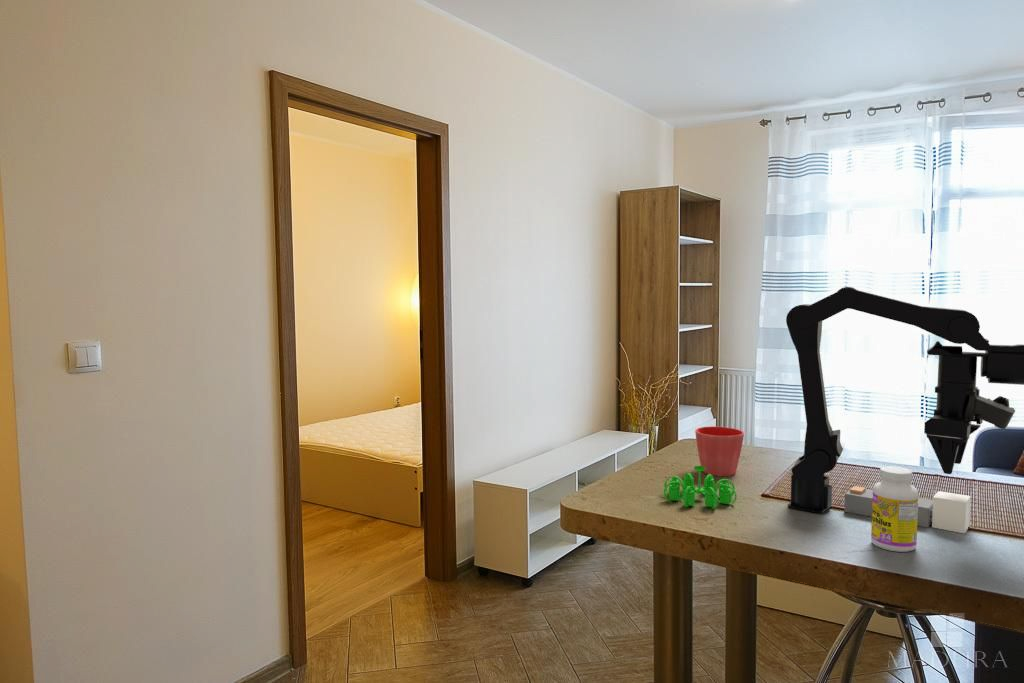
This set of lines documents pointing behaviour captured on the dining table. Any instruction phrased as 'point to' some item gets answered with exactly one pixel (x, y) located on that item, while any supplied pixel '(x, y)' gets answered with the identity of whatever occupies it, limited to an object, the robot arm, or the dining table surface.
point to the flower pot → (719, 449)
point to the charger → (951, 511)
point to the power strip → (862, 499)
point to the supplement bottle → (895, 510)
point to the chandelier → (699, 489)
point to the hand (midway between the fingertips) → (952, 468)
